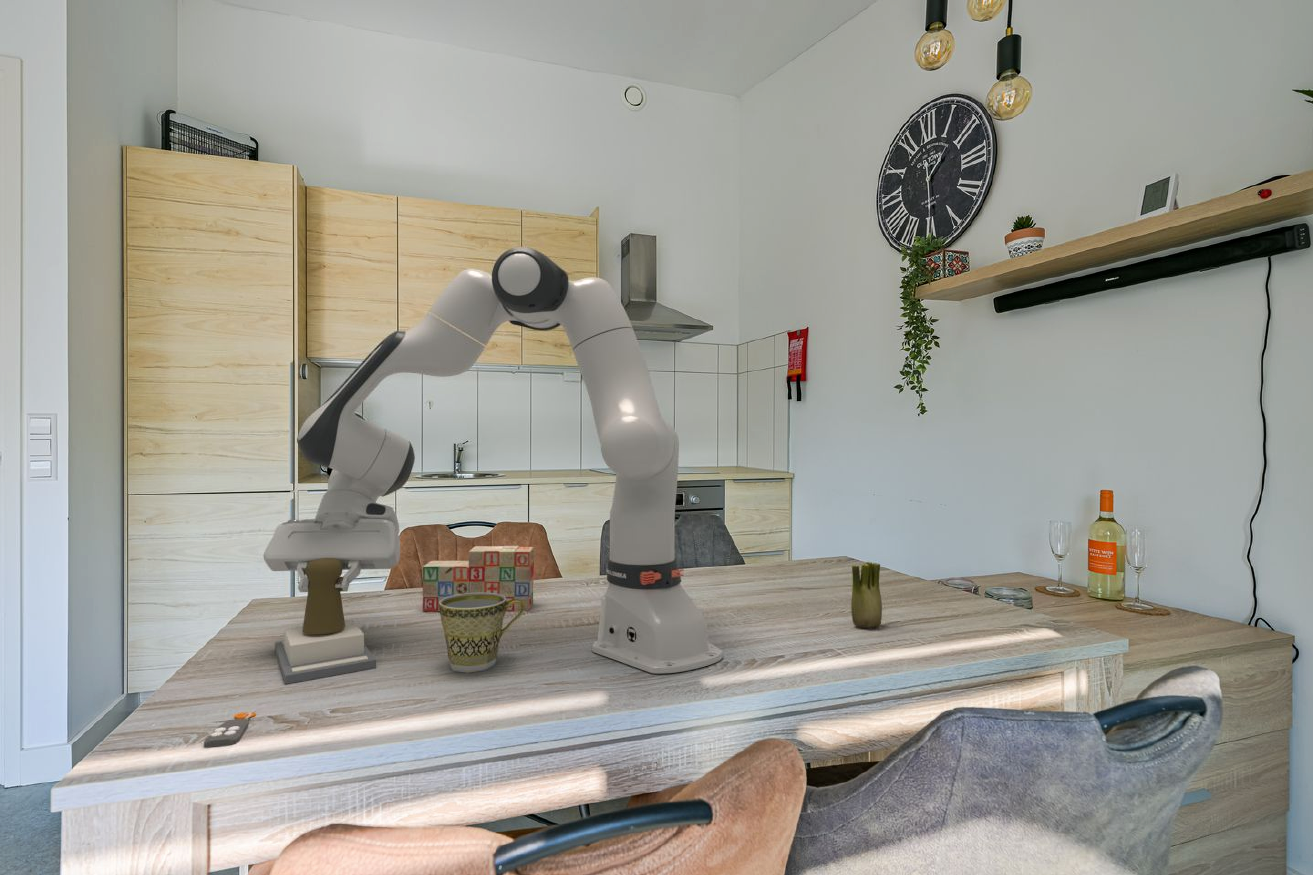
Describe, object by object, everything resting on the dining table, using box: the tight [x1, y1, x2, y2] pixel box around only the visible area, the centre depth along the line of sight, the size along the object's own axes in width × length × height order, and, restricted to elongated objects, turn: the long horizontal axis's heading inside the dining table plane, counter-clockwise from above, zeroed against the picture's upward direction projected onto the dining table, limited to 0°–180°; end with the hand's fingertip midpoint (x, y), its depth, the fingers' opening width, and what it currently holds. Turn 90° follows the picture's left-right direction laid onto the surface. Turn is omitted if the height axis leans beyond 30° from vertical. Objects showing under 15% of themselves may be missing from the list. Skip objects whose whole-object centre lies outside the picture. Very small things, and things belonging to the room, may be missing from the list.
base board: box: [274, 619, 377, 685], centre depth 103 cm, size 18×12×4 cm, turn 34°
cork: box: [302, 558, 346, 635], centre depth 103 cm, size 6×6×11 cm
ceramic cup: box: [439, 592, 525, 674], centre depth 101 cm, size 13×10×10 cm
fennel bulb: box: [850, 561, 883, 630], centre depth 122 cm, size 6×5×12 cm
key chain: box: [203, 708, 259, 749], centre depth 80 cm, size 13×4×2 cm, turn 16°
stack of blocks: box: [422, 545, 535, 612], centre depth 134 cm, size 21×6×12 cm, turn 93°
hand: (322, 589), depth 102 cm, fingers closed on cork, 4 cm apart
